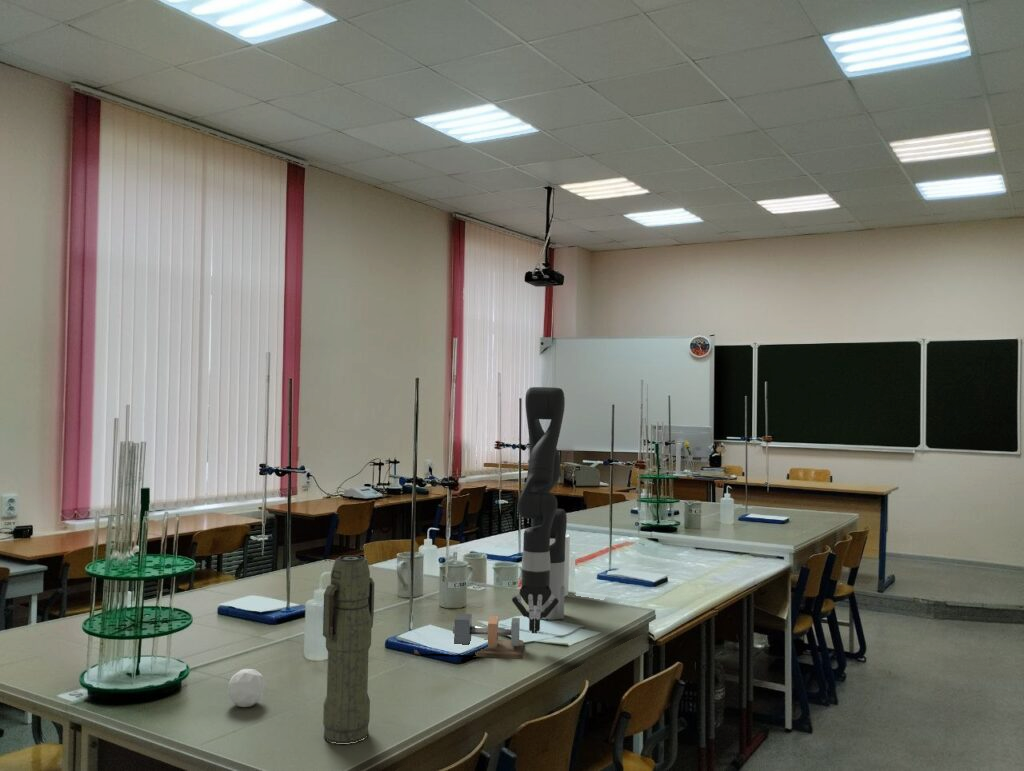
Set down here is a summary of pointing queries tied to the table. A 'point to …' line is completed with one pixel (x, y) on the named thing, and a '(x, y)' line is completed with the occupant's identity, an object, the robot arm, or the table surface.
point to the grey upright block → (462, 629)
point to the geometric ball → (246, 687)
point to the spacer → (492, 631)
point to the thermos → (348, 649)
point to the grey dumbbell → (501, 631)
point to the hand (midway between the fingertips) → (534, 632)
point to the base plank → (499, 650)
